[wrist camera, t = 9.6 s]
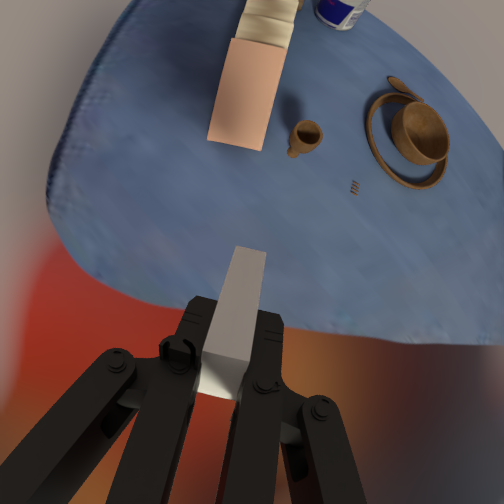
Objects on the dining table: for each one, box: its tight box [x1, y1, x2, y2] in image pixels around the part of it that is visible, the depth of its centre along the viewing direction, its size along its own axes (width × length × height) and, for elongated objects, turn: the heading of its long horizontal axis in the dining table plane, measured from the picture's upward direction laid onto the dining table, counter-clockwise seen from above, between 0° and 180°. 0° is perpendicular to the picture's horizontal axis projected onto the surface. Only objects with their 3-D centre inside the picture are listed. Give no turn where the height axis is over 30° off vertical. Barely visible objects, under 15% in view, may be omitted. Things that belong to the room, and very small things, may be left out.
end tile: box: [207, 38, 287, 151], centre depth 23 cm, size 5×2×10 cm
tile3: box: [244, 0, 299, 24], centre depth 23 cm, size 5×2×10 cm
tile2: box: [235, 13, 294, 49], centre depth 23 cm, size 5×2×10 cm
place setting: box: [287, 77, 450, 195], centre depth 25 cm, size 18×20×6 cm
